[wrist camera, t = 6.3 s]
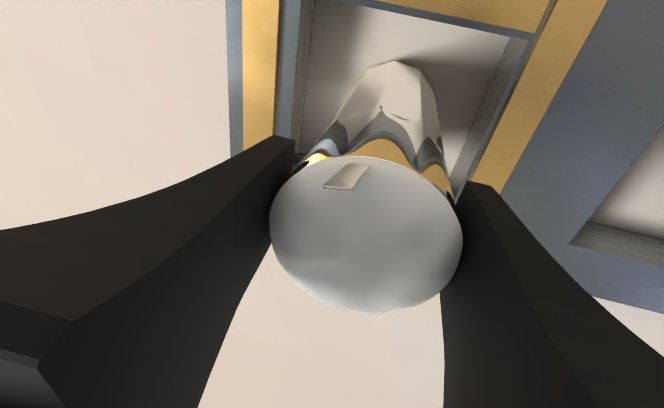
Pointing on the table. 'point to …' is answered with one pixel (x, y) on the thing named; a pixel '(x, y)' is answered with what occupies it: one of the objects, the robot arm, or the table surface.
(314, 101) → the table surface
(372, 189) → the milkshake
